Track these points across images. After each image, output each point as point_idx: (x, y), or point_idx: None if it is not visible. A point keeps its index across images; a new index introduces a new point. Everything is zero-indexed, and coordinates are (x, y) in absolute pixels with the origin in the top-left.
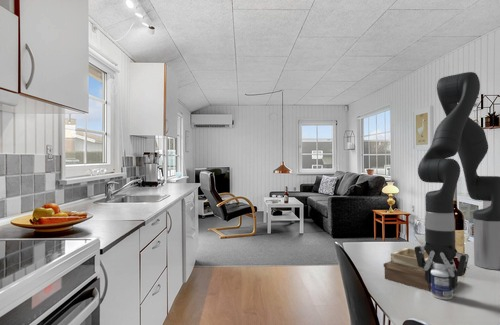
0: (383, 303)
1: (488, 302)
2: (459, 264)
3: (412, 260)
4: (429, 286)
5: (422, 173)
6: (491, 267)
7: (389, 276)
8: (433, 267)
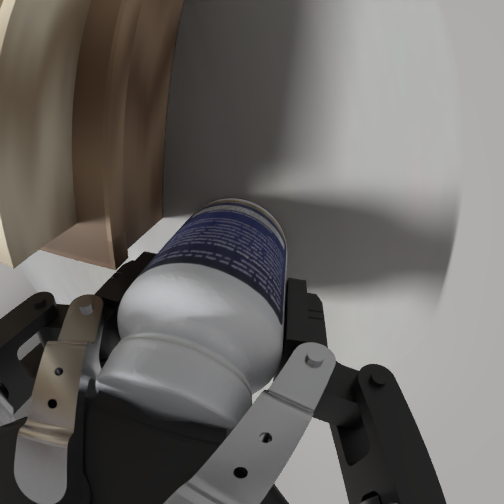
0: None
1: (438, 188)
2: (350, 490)
3: None
4: (151, 215)
5: None
6: None
7: None
8: (72, 69)
